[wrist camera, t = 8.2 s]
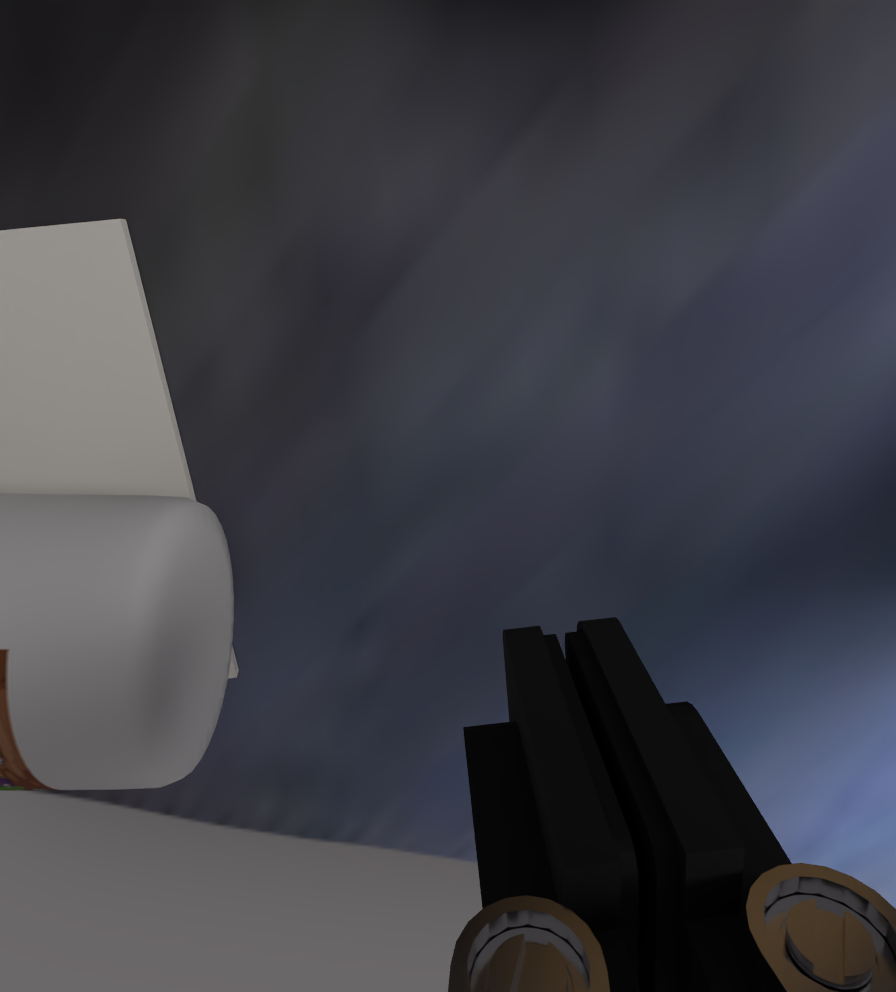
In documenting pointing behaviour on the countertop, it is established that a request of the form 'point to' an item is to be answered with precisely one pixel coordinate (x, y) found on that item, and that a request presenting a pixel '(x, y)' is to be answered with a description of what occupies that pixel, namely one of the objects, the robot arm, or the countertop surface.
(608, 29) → the countertop surface
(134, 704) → the milk bottle
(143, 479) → the pad
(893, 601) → the countertop surface
